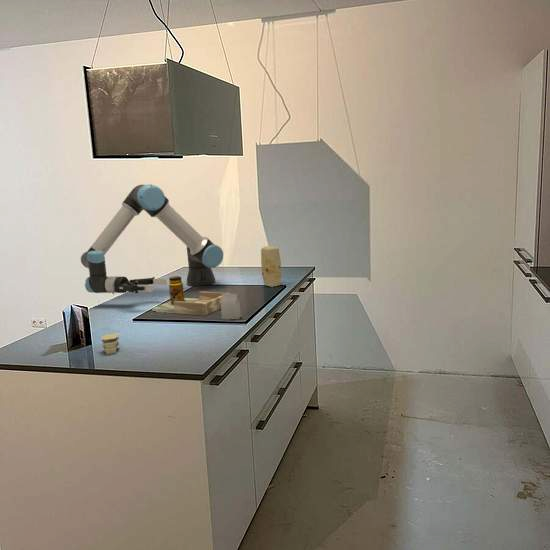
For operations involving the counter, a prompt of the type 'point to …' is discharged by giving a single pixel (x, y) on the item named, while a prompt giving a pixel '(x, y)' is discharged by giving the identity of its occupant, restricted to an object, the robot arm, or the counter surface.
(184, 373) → the counter surface
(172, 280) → the condiment
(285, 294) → the counter surface
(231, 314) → the tea bag
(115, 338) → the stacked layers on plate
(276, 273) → the food model
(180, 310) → the open-front wooden tray
